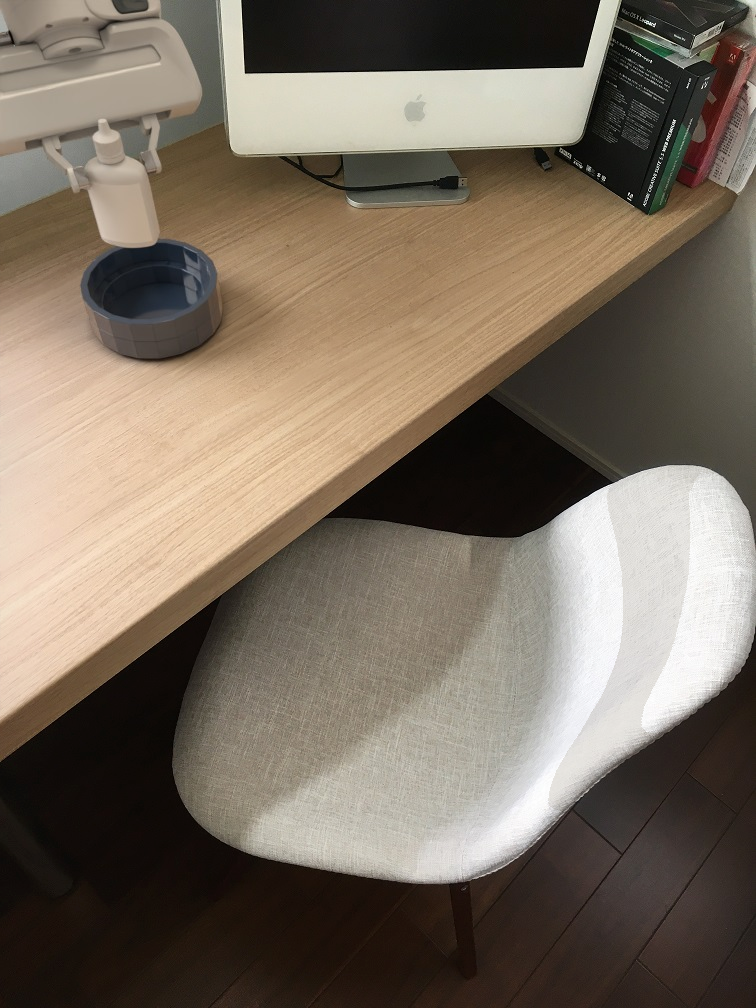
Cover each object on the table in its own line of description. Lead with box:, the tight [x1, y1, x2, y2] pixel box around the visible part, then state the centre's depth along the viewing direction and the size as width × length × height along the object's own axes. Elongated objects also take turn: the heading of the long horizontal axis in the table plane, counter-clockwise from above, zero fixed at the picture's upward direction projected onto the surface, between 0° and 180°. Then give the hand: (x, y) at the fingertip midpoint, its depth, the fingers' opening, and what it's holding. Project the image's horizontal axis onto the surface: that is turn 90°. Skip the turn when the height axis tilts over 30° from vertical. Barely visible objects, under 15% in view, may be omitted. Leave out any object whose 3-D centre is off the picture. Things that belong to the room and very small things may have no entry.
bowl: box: [79, 238, 223, 359], centre depth 88 cm, size 15×15×6 cm
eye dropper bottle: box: [84, 119, 161, 248], centre depth 73 cm, size 4×6×12 cm
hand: (119, 181), depth 73 cm, fingers closed on eye dropper bottle, 5 cm apart
